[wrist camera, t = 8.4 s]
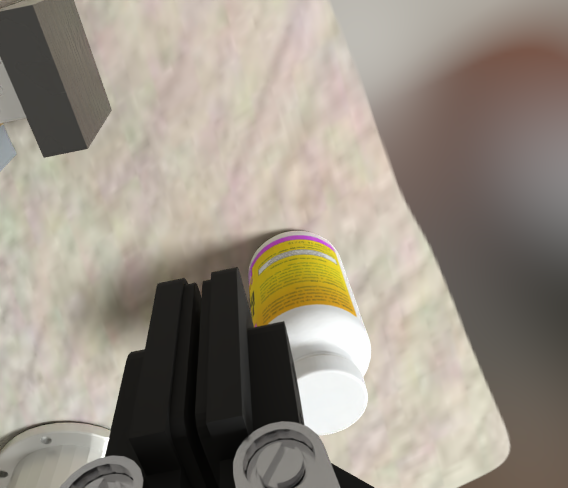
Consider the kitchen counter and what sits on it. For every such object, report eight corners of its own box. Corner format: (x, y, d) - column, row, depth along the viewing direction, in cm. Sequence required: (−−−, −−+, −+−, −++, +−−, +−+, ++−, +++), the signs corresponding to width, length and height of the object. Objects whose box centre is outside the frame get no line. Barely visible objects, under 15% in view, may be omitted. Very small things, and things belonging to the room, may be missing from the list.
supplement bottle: (232, 248, 37) (235, 382, 26) (321, 212, 36) (364, 335, 25) (269, 318, 41) (286, 463, 29) (352, 286, 40) (402, 423, 29)
